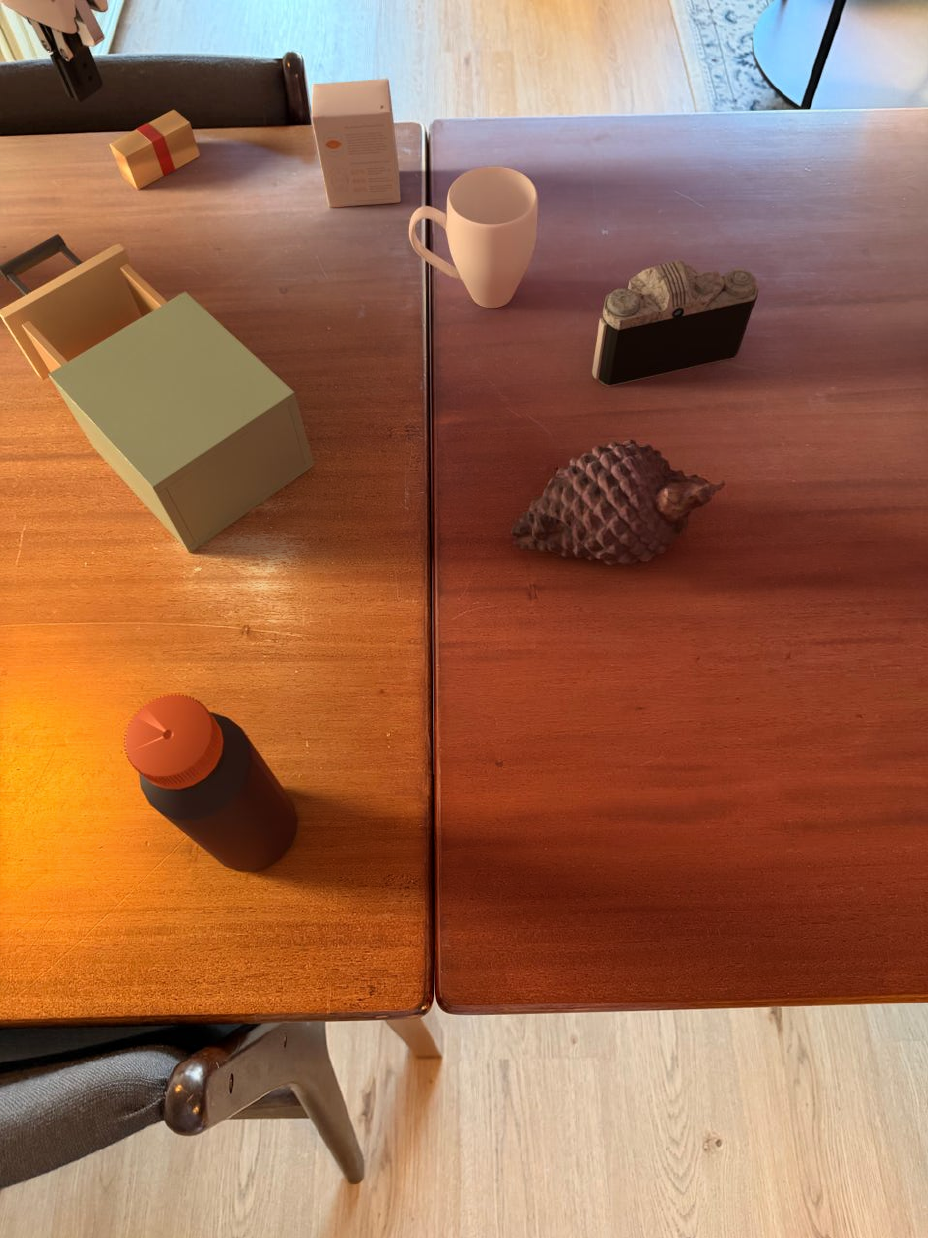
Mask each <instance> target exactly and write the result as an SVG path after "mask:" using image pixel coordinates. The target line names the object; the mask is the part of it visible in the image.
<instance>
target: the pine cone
mask: <svg viewBox="0 0 928 1238" xmlns="http://www.w3.org/2000/svg"><path fill="white" fill-rule="evenodd" d="M725 486H726V481H725V480H724V479H723V480H720V481H719V482H717V483H716V484H715V483H714V484H711V482H710V481H708V480H707V479H706V478H704V477H700V476H698V474H692V475H690V476H686V475H685V472H684V471H683V470H681V469H680V470H677V471H676V470H673V469H672V468H671V465H670V463H669V460H667V459H665V458H664V457H662V451H660V450H658V449H654V448H653V447H652V445H651V444H645V445H644V444H643V445H641V446H639V444H638V443H637V442H636V440H634V439H628V440H625V441H623V443H621V444H620V443H619V442H616V441H611V442H608V443H605V444H603V445H596V446H594V447H593V448H592V451H585V452H584V453H583V454H582V455H581V456H578V457H577V456H573V457H571V459H570V460H569V466H567V467H565V466H564V467H559V468H558V470H557V471H556V474H555V476H553V477H551V478H550V480H549V481H548V484H547V486H546V487H545V488H544V490H543V493H542V494H543V495H540V496H539V497H537V498H536V499H534V500H531V501H530V503H529V508H528V509H527V511H523V512H522V513H521V514H520V515H521V516H520V517H518V519H517V522H514V523H512V525H511V530H510V537H513V538H514V540H513V542H512V544H513V545H514V546H515V547H516V548H517V549H523V550H528V549H531V550H533V551H541V552H543V553H548V552H552V553H556V554H558V555H561V556H562V557H563V558H565V557H566V558H567V557H574V558H579V559H581V558H586V559H587V560H589V561H592V560H595V559H599V560H603V561H604V563H605V564H607V565H609V566H611V565H615V564H616V563H620V564H622V565H623V564H628V565H632V564H636V563H637V562H638V561H639V560H640V561H641V562H648V561H650V560H652V559H653V558H652V557H654V556H655V555H656V554H662V553H666V550H667V547H668V546H669V545H670V543H672V542H673V541H675V540H676V537H677V536H678V535H680V537H684V536H685V535H686V534H687V531H688V526H689V516H690V514H691V513H692V511H693V510H695V509H697V508H700V507H703V506H705V505H706V504H708V503H709V502H710V501H712V500H713V497H715V493H716V492H718V491H720V490H722V489H723V488H724V487H725Z"/></svg>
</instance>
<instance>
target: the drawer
mask: <svg viewBox="0 0 928 1238" xmlns="http://www.w3.org/2000/svg"><path fill="white" fill-rule="evenodd" d="M64 240H65V239H63V238H62V236H61V235H60V234H59V233H56V234H54V235H53V236H51V237H49V238H48V239H46V240H44V241H42V242H40V243H39V244H37V245H35V246H33V247H32V248H29V249H27V250H26V251H24V252H22V253H20V254H18V255H17V256H15V257H13V258H11V259H10V260H8V261H6V262H4V263H3V264H1V265H0V275H1V276H2V278H3V279H4V280H5V281H6V282H9V281H10V282H11V283H12V284H13V286H15V287H16V289H18V290H19V291H20V293H21V294H22V295H23V296H22V297H21V298H18V299H17V300H15V301H13V302H12V303H10V304H8V305H6V306H4V307H3V308H1V309H0V319H1V320H2V322H3V323H4V325H5V326H6V328H7V330H8V331H9V332H10V334H11V335H12V338H13V339H14V340H15V342H16V344H17V345H18V347H19V348H20V350H21V352H22V353H23V354H24V356H25V357H26V359H27V361H28V362H29V364H30V366H31V367H32V369H33V370H34V372H35V373H36V375H37V376H38V377H39V378H40V379H41V380H42V381H45V380H46V379H48V378H50V377H49V375H48V374H49V373H51V372H52V371H54V370H56V369H57V368H59V367H61V366H62V365H64V364H66V363H67V362H69V361H71V360H72V359H74V358H76V357H77V356H79V355H81V354H82V353H84V352H86V351H87V350H89V349H91V348H92V347H94V346H95V345H97V344H99V343H100V342H102V341H104V340H105V339H107V338H109V337H110V336H112V335H114V334H115V333H117V332H119V331H120V330H122V329H124V328H125V327H127V326H129V325H130V324H132V323H134V322H135V321H137V320H139V319H140V318H142V317H144V316H145V315H147V314H149V313H150V312H152V311H154V310H155V309H157V308H159V307H160V306H162V305H164V304H165V303H167V302H168V301H167V299H166V298H164V297H163V296H162V294H160V293H159V292H158V291H157V290H156V289H155V288H154V287H153V286H151V284H149V283H148V282H147V281H146V279H144V278H143V277H142V276H141V275H140V274H139V273H138V272H137V271H136V270H135V268H134V267H133V264H132V262H131V259H130V257H129V255H128V252H127V250H126V248H125V247H124V246H123V245H121V244H120V243H119V242H117V243H115V244H114V245H112V246H110V247H108V248H106V249H105V250H103V251H101V252H100V253H98V254H96V255H94V256H92V257H91V258H89V259H87V260H86V261H84V262H83V261H82V260H81V259H80V258H79V257H78V256H77V255H76V254H75V253H73V251H72V250H71V249H70V248H68V246H67V243H66V241H64ZM59 253H61V254H63V256H65V257H66V258H67V259H68V260H69V261H70V263H72V264H73V265H74V266H75V267H73V268H71V269H70V270H67V271H66V272H64V273H62V274H60V275H59V276H57V277H55V278H54V279H52V280H50V281H48V282H47V283H45V284H43V285H42V286H39V287H38V288H35V290H32V291H31V290H30V289H29V287H27V286H26V285H25V283H23V281H22V280H21V279H20V278H19V277H18V276H19V275H21V274H23V273H25V272H26V271H29V270H31V269H33V268H34V267H37V266H38V265H39V264H42V263H43V262H45V261H46V260H48V259H50V258H52V257H53V256H55V255H58V254H59Z"/></svg>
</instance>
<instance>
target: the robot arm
mask: <svg viewBox="0 0 928 1238" xmlns="http://www.w3.org/2000/svg"><path fill="white" fill-rule="evenodd" d="M0 3H1V4H3V5H4V6H5V7H7V8H8V9H10V10H12V11H13V12H15V13H16V14H18V15H19V16H21V17H22V18H24V19H25V20H27V23H28V24H29V25H30V26H31V27H32V30H33V31H34V33H35V35H36V37H37V38H38V40H39V42H40V44H41V46H42V48H43V49H44V50H45V51H46V52H47V53H49V57H50V59H51V61H52V64H53V66H54V68H55V69H54V70H55V71H56V73H57V75H58V78H59V80H60V83H61V84H62V85H61V86H62V87H63V89H64V91H65V94H66V96H68V97H69V98H71V99H74V100H75V101H78V102H80V103H82V102H84V101H86V100H87V99H88V98H90V97H91V96H92V95H94V94H95V93H96V92H98V91H99V90H101V89H102V88H103V85H104V81H103V79H102V76H101V74H100V72H99V68H98V65H97V64H96V62H95V58H94V56H93V54H92V51H91V48H90V47H93V48H94V47H96V46H97V45H99V44H100V43H102V42H103V41H104V40H105V38H106V37H105V34H104V32H103V30H102V28H101V26H100V24H99V22H98V20H97V18H96V16H95V14H94V13H93V11H94V12H98V13H106V12H107V11H108V10H109V3H108V0H0Z"/></svg>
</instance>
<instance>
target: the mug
mask: <svg viewBox="0 0 928 1238" xmlns="http://www.w3.org/2000/svg"><path fill="white" fill-rule="evenodd" d="M538 197H539V196H538V191H537V189H536V187H535V185H534V183H533V182H532V181H531V180H530V179H529V178H528V176H526V175H525V174H523V173H521V172H520V171H518V170H515V169H512V168H510V167H505V166H496V165H493V166H492V165H489V166H482V167H476V168H473V169H471V170H468V171H466V172H464V173H463V174H461V175H460V176H458V177H457V178H456V179H455V180H454V181H453V182H452V184H451V185H450V187H449V189H448V192H447V196H446V213H444V212H443V211H441V210H439V209H437V208H435V207H432V206H430V205H423V206H420V207H418V208H416V210H415V211H414V212H413V213H412V215H411V217H410V220H409V223H408V224H409V225H408V237H409V241H410V243H411V246H412V248H413V250H414V251H415V253H416V254H417V255H418V256H419V257H420V258H422V259H423V260H424V261H425V262H427V263H428V264H429V265H431V266H432V267H434V268H435V269H437V270H438V271H440V272H442V273H443V274H445V275H446V276H448V277H450V278H452V279H456V280H462V282H463V285H464V286H465V288H466V290H467V292H468V293H469V296H470V297H471V299H472V301H473V302H474V303H475V304H477V305H478V306H480V307H481V308H482V307H483V308H485V309H497V308H501V307H503V306H505V305H507V304H508V303H510V301H511V300H512V298H513V297H514V295H515V292H516V291H517V289H518V287H519V285H520V283H521V282H522V280H523V277H524V276H525V273H526V271H527V269H528V268H529V265H530V263H531V260H532V257H533V255H534V252H535V246H536V240H537V226H538V210H539V208H538V207H539V198H538ZM425 219H426V220H431V221H433V222H435V223H436V224H438V225H439V226H441V228H443V229H444V230H445V234H446V237H447V244H448V248H449V252H450V256H451V258H452V260H453V263H454V265H452V264H450V263H448V262H447V261H446V260H444V259H442V258H440V257H439V256H438V255H436V254H435V253H433V252H432V251H430V250H429V249H428V248H427V247H425V245H424V244H422V242H421V241H420V240H419V238H418V237H417V234H416V225H417V224H418V223H419V222H421V221H422V220H425Z"/></svg>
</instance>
